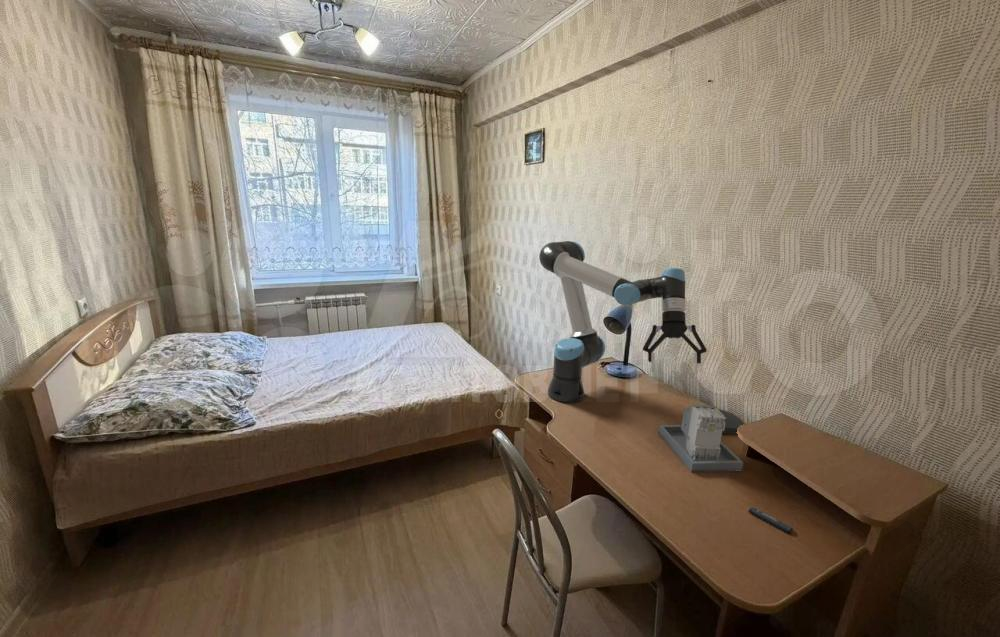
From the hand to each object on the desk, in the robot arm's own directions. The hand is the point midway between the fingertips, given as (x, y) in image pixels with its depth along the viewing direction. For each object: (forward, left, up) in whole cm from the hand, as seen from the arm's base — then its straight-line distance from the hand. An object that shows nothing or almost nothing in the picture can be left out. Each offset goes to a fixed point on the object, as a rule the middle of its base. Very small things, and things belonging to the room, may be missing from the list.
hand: (673, 372), depth 139 cm
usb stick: (+44, +6, -23) cm, 50 cm away
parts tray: (+13, +5, -22) cm, 26 cm away
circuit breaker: (+12, +5, -22) cm, 25 cm away
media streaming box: (-4, +23, -23) cm, 32 cm away
